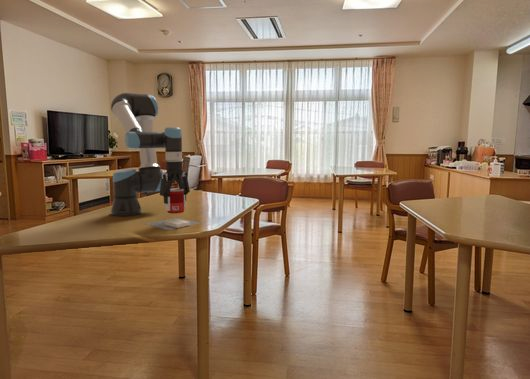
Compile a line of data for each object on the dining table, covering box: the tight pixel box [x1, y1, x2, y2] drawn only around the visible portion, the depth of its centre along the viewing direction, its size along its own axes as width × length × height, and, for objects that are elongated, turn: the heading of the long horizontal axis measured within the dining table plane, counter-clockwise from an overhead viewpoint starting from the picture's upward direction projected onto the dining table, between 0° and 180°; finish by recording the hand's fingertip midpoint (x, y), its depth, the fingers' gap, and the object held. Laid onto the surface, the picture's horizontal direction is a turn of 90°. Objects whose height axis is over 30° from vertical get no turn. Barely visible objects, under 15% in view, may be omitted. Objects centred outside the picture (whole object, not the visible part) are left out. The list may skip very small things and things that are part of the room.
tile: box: [165, 219, 190, 229], centre depth 165 cm, size 2×7×9 cm
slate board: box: [146, 217, 201, 231], centre depth 168 cm, size 18×18×1 cm
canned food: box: [166, 187, 185, 214], centre depth 174 cm, size 8×8×11 cm
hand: (175, 209), depth 175 cm, fingers closed on canned food, 8 cm apart
